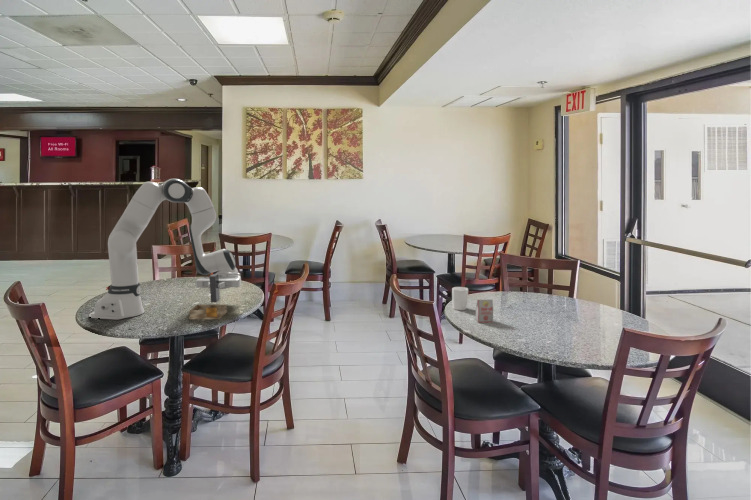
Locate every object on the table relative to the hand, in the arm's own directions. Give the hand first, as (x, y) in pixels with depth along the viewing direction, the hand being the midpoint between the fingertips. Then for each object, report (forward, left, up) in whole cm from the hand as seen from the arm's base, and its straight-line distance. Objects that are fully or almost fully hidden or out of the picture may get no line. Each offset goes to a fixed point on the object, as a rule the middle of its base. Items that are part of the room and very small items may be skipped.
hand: (214, 286), depth 210 cm
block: (0, +1, -7) cm, 7 cm away
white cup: (+115, +11, -14) cm, 117 cm away
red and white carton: (+122, -9, -14) cm, 123 cm away
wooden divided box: (-3, +1, -14) cm, 14 cm away
